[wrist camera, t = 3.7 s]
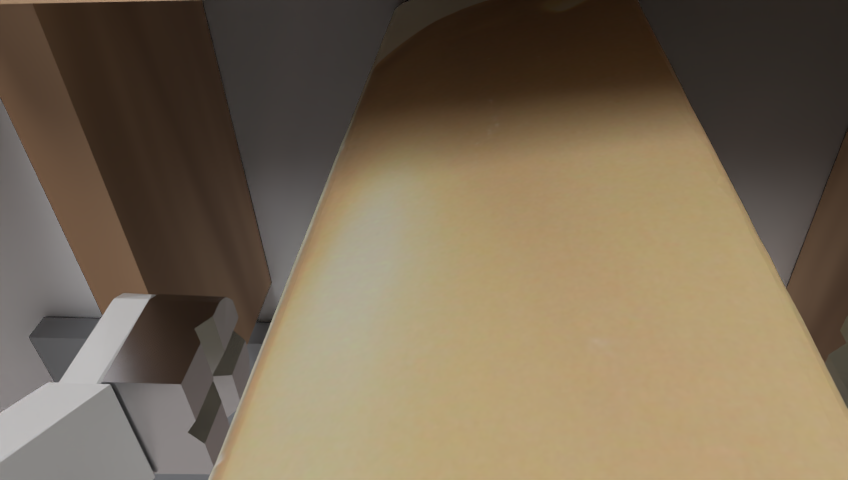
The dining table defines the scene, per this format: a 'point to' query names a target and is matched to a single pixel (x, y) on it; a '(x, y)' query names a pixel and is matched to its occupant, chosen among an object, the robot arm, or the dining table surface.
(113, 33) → the shelf bay
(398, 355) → the skincare box
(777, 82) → the dining table surface
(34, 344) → the slate mat
